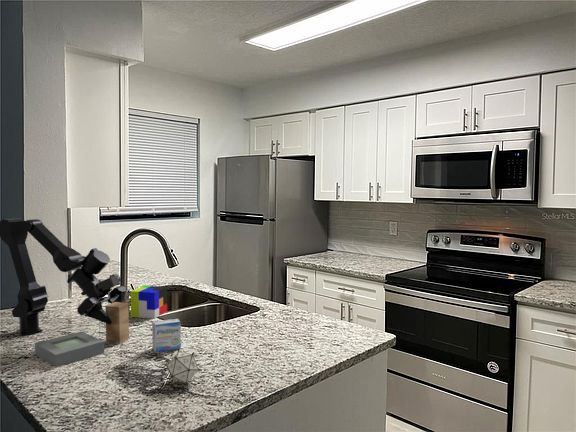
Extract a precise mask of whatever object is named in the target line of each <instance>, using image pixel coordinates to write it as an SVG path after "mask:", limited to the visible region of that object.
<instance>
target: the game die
mask: <svg viewBox="0 0 576 432" xmlns="http://www.w3.org/2000/svg"><path fill="white" fill-rule="evenodd" d="M194 355H195V351H194V352H193V351H192V353H187V352H182V351H180V349H177V353H175V355H174V356H173V357H172V358H171V359H170V360H169V361H168V362H167V363H162V365H163V366H165V367H166V368H167V370H168V372H169V375H170V376H169V378H170V379H171V380H170V383H173V382H174V381H175V382H178V383H183V384H185V386H186V387H188V386H189V385H188V383H189V382H190V380H191V379H192V378H193V377H195V375H196V374H197V373H198V371H199V372H202V371H203V370H202V369H201V368H199V367H198V364H197V362H196V360H195V357H194Z"/></svg>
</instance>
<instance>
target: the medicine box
mask: <svg viewBox="0 0 576 432" xmlns="http://www.w3.org/2000/svg"><path fill="white" fill-rule="evenodd" d="M151 323H152V327H151V329H152V332H151V333H152V336H151V337H152V339H151V340H152V350H153V351H154V353H155V354H156V353H162V352H170V351H175V350H178V349H179V350H180V349H181V347H182V344H181V343H182V342H181V341H182V337H181V335H182V334H181V333H182V329H181V328H182V327H181V326H182V324H181V321H180V319H179V318H172V319H164V320H157V321H156V320H155V321H152V322H151Z"/></svg>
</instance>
